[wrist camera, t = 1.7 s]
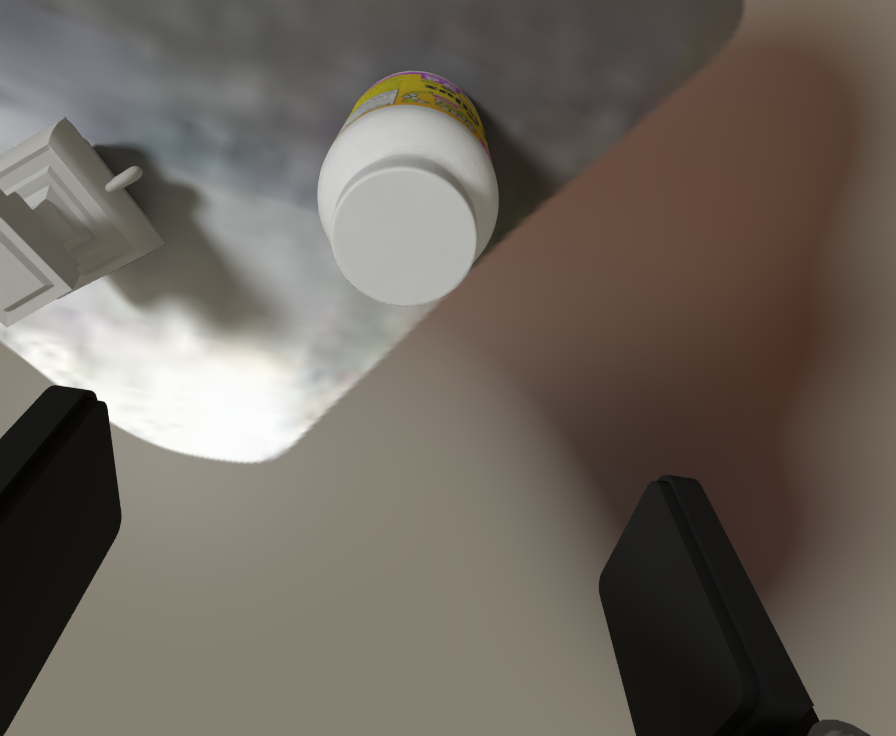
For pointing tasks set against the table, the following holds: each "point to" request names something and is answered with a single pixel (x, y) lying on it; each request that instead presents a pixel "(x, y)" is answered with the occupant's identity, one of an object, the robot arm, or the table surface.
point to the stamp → (63, 220)
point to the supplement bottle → (409, 190)
